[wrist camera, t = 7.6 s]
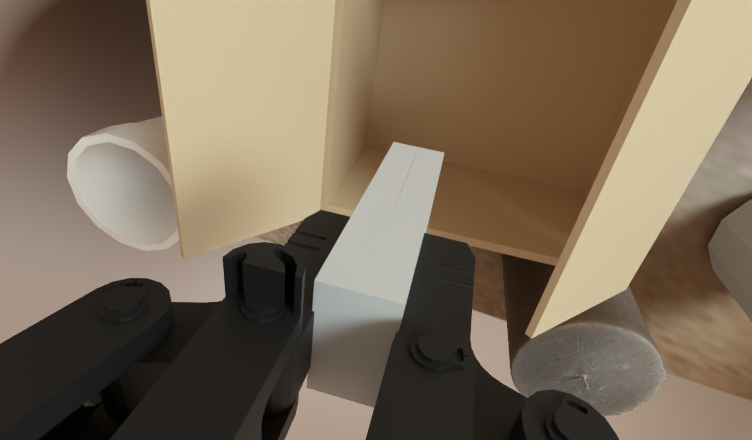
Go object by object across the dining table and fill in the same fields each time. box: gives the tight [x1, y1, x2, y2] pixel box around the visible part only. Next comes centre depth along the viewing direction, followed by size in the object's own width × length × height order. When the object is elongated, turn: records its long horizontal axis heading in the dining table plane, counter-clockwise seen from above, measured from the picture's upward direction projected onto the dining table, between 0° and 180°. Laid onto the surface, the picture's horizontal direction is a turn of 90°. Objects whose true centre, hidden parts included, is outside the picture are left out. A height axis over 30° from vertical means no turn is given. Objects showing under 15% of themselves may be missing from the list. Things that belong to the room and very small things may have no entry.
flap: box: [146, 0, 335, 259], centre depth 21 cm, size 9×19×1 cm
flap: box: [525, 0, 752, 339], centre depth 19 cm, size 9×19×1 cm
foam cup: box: [67, 116, 179, 251], centre depth 36 cm, size 10×9×13 cm
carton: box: [320, 0, 677, 266], centre depth 28 cm, size 20×19×12 cm
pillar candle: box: [502, 254, 666, 417], centre depth 34 cm, size 10×10×15 cm
